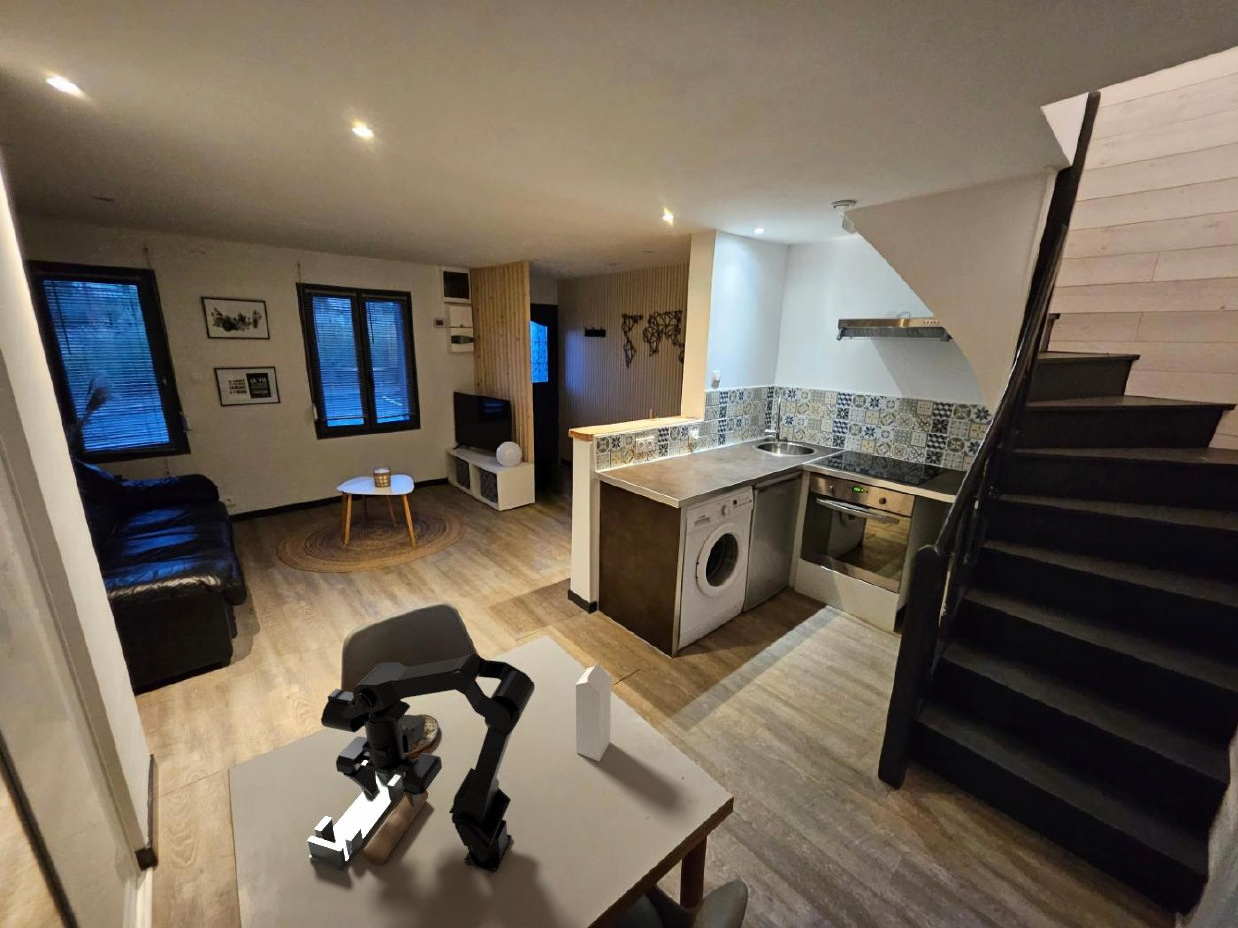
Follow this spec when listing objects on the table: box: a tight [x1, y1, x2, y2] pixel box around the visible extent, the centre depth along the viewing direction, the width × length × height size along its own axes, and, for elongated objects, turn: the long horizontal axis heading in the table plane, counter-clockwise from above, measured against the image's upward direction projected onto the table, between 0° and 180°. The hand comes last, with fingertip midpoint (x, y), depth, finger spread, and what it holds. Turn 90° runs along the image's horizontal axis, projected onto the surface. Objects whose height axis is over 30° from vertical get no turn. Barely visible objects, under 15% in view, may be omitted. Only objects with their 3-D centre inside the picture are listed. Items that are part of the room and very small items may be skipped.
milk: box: [575, 660, 612, 762], centre depth 108 cm, size 6×6×22 cm
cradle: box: [307, 770, 406, 872], centre depth 94 cm, size 8×18×4 cm, turn 166°
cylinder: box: [363, 789, 429, 867], centre depth 92 cm, size 13×4×4 cm, turn 166°
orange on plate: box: [405, 713, 441, 759], centre depth 112 cm, size 12×12×8 cm
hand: (394, 798), depth 90 cm, fingers open, 9 cm apart
